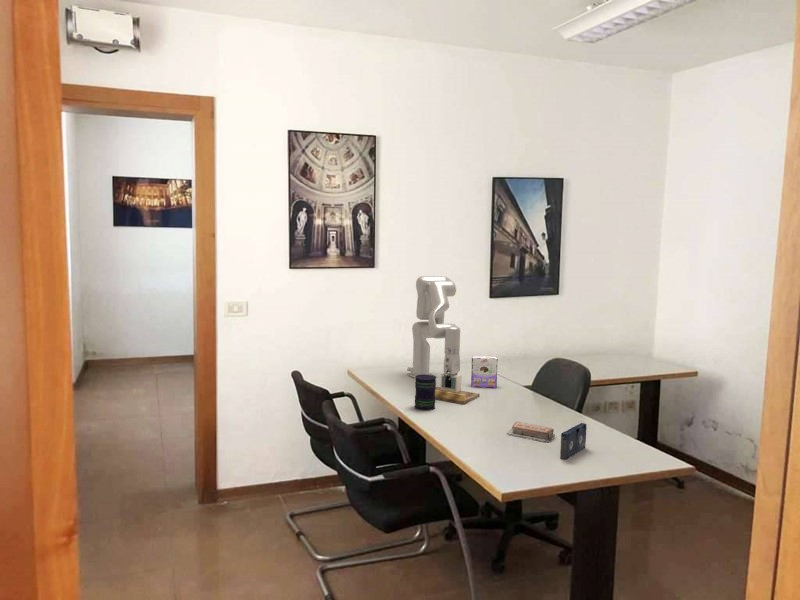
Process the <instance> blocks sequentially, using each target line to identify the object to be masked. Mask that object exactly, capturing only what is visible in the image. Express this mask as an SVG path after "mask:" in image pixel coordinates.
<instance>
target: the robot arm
mask: <svg viewBox="0 0 800 600" xmlns="http://www.w3.org/2000/svg"><path fill="white" fill-rule="evenodd" d="M415 288H416V292H417V293H416V294H417V301H416V310H415V311H416V312H415V313H416V318H417V319H418V320H420V321H416V322H414V324H412V326H411V327H412V328H411V331H412V338H413V339H412V340H413V341H412V342H413V343H412V344H413V345H412V346H413V349H412V350H413V351H412V353H413V354H412V367H410V366H408V367H407V370H406V371H407V372H410V373H409V377H410V378H415V379H416V376H417V375H423V374H426V375H432V373H431V372H430V362H431V361H430V360H431V359H430V358H431V346H430V343H429V342H428V340H427V339H438V340H439V339H444V359H443V373H444V376H445V387H448V388H451V374H458V373H460V371H461V355H460V350H461V349H460V346H461V345H460V343H461V328H460V327H459V326H458V325H456V324H455V323H444V322H445V312H446V311H447V310H449V308H450V302H449V299H448V297H454V296H455V295H456V293H457V286H456V284H455V282H454V281H453V280H452V279H450V278H449V277H447V276H442V275H440V276H439V275H437V276H436V275H424V276H419V277H417V279H416V282H415ZM449 373H450V374H449ZM448 375H449V376H448Z"/></svg>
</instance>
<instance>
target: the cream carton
mask: <svg viewBox="0 0 800 600" xmlns="http://www.w3.org/2000/svg"><path fill="white" fill-rule="evenodd" d="M448 373H449V372H448ZM449 374H450V373H449ZM448 376H449V375H448ZM440 387H441V390H445V391H451V392H456V393H457V392H459V391H462V374H458V373H457V374H451V388H448V387H445V376H444V372H443V373H441V374H440Z"/></svg>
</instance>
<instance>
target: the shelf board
mask: <svg viewBox="0 0 800 600" xmlns="http://www.w3.org/2000/svg"><path fill="white" fill-rule="evenodd" d="M480 395H481V394H480V393H478V392H477V393H476V392H471V391H465V390H461V391H459V392H457V393H456V392H451V391H445V390H441V386H436V389H435V401H436V400H438V401H442V402H448V403H453V404H458V403H459V405H466V404H469V403H470V402H472V401H474V400H476V399H478V398H479V397H481V396H480ZM477 397H478V398H477ZM475 398H476V399H475Z"/></svg>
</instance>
